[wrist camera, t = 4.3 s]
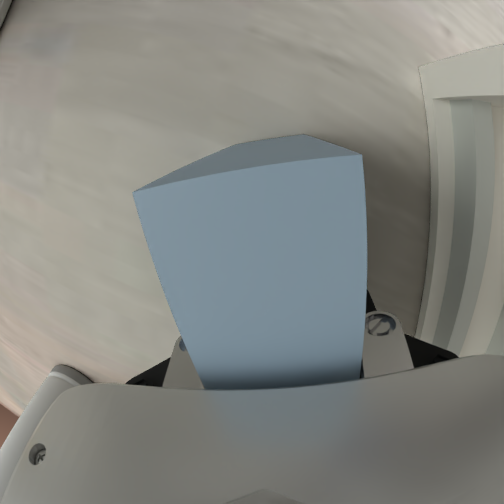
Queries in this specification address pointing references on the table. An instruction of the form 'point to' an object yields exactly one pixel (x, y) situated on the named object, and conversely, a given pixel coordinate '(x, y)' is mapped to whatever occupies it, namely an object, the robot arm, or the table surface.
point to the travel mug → (35, 418)
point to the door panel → (264, 261)
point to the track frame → (465, 204)
